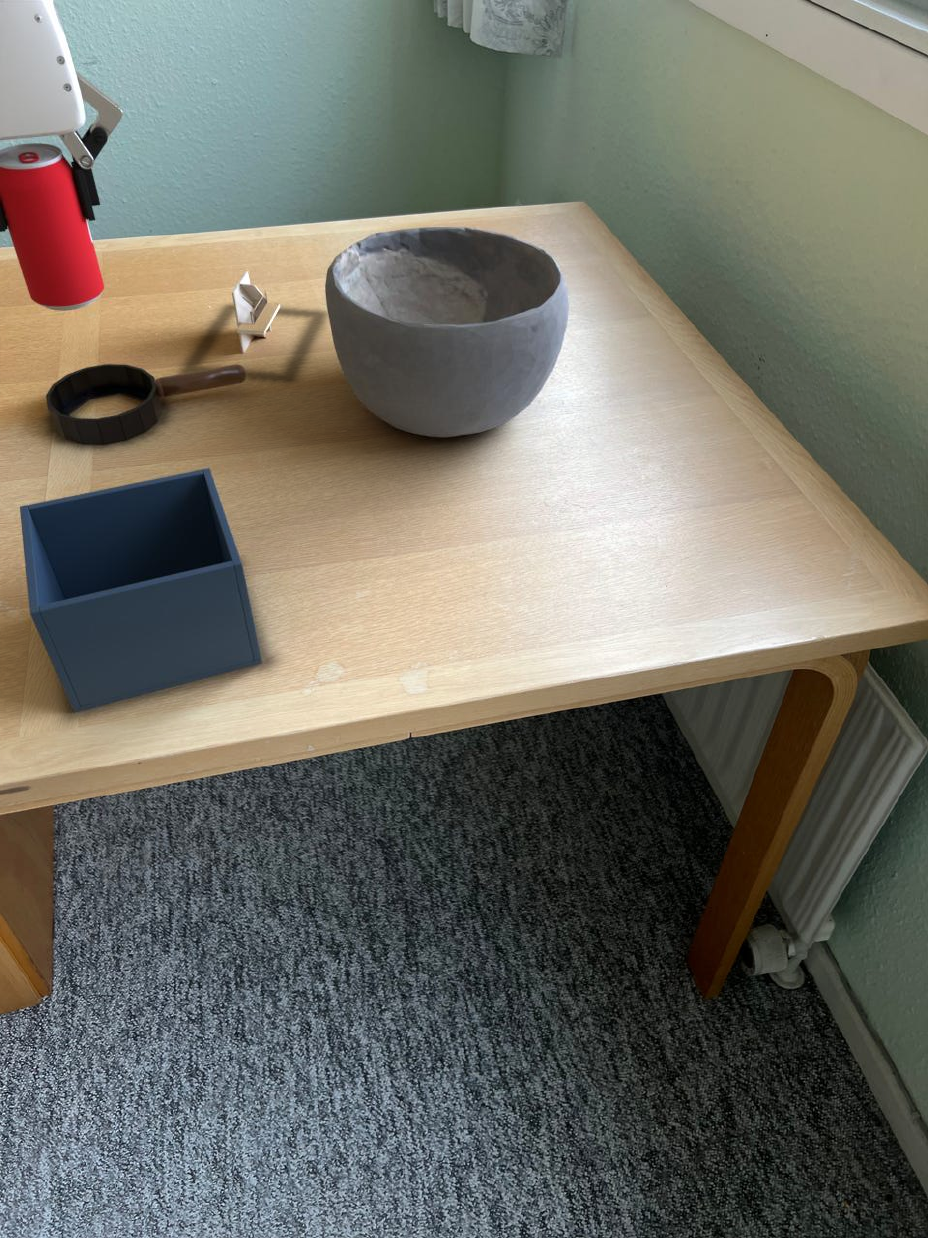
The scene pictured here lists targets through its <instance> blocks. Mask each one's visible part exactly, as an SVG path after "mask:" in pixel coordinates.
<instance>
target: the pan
mask: <svg viewBox="0 0 928 1238" xmlns="http://www.w3.org/2000/svg"><path fill="white" fill-rule="evenodd" d="M247 378H248V371H247V369H246V368H245V367H244V366H243V365H242V364H231V365H225V366H219V367H213V368H208V369H202V370H196V371H191V372H185V373H179V374H174V375H167V376H162V377H157V378H156V379H155V377H154V376H153V375H152V374H151V373H150V372H148V371H146V370H145V369H143V368H141V367H138V366H134V365H131V364H130V365H129V364H120V363H118V364H117V363H106V364H105V363H104V364H99V365H98V364H97V365H93V366H87V367H84V368H81V369H78V370H76V371H73V372H70V373H67V374H65V375H64V376H63V377H61V378H60V379H59V380H57V381H56V382H54V383H53V384H52V385H51V387H50V388H49V390H48V391H47V393H46V394H45V400H46V407H47V409H48V412H49V416H50V418H51V421H52V424H53V427H54V430H55V432H56V433H57V434H59V435H60V436H61V437H62V438H63V439H64V440H66V441H69V442H72V443H76V444H79V445H83V446H107V445H112V444H118V443H123V442H126V441H130V440H132V439H134V438H136V437H139V436H141V435H143V434H145V433H147V432H148V431H149V430H150V429H151V428H153V427H154V426H155V425H157V424H158V422H159V421H160V418H161V416H162V414H163V411H164V410H163V406H162V401H161V398H167V397H172V396H178V395H179V396H180V395H184V394H190V393H195V392H201V391H206V390H212V389H217V388H222V387H228V386H229V387H230V386H233V385H234V386H235V385H239V384H243V383H244V382H245V381H246V380H247ZM118 395H119V396H120V395H121V396H124V397H127V398H132V399H135V400H139V401H142V402H141V403H140V404H138V405H137V406H135V407H133V408H131V409H128V410H125V411H123V412H121V413H119V414H114V415H109V416H104V417H98V418H93V417H92V418H91V417H88V418H87V417H74V416H71V414H72V413H74V412H75V411H77V410H78V409H79V408H80V407H82V406H83V405H85V404H86V403H87V402H88V401H90V400H96V399H100V398H106V397H112V396H118Z"/></svg>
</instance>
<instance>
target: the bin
mask: <svg viewBox="0 0 928 1238" xmlns="http://www.w3.org/2000/svg"><path fill="white" fill-rule="evenodd" d="M19 512H20V524H21V534H22V543H23V556H24V564H25V565H24V566H25V576H26V586H27V598H28V608H29V615H30V617H31V620H32V621H33V624H34V626H35V628H36V630H37V633H38V635H39V636H40V639H41V642H42V643H43V646H44V649H45V651H46V653H47V655H48V657H49V660H50V662H51V664H52V667H53V668H54V671H55V674H56V675H57V678H58V680H59V682H60V685H61V687H62V688H63V690H64V693H65V695H66V698H67V700H68V702H69V705H70V707H71V708H72V711H73V713H74V714H77V713H80V712H85V711H87V710H92V709H96V708H99V707H103V706H106V705H111V704H114V703H118V702H123V701H126V700H130V699H133V698H137V697H140V696H144V695H148V694H151V693H156V692H159V691H163V690H166V689H171V688H175V687H178V686H181V685H186V684H189V683H192V682H193V683H194V682H196V681H197V682H198V681H200V680H204V679H208V678H212V677H215V676H219V675H220V676H221V675H223V674H226V673H227V674H228V673H230V672H234V671H238V670H241V669H245V668H249V667H253V666H257V665H260V664H263V658H262V654H261V649H260V645H259V640H258V635H257V630H256V629H257V628H256V625H255V619H254V615H253V614H254V613H253V610H252V605H251V600H250V595H249V591H248V585H247V581H246V575H245V572H244V571H245V570H244V567H243V563H242V559H241V557H240V554H239V550H238V546H237V545H236V541H235V539H234V536H233V533H232V530H231V526H230V524H229V520H228V517H227V515H226V511H225V509H224V507H223V504H222V500H221V497H220V495H219V491H218V489H217V486H216V482H215V480H214V477H213V474H212V471H211V468H210V467H206V468H202V469H196V470H192V471H187V472H181V473H177V474H173V475H167V476H163V477H158V478H153V479H148V480H143V481H139V482H138V481H137V482H134V483H127V484H124V485H119V486H114V487H109V488H105V489H99V490H94V491H90V492H85V493H79V494H74V495H70V496H66V497H60V498H55V499H50V500H46V501H45V500H44V501H40V502H36V503H31V504H26V505H21V506H19Z"/></svg>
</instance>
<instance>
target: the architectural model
mask: <svg viewBox="0 0 928 1238" xmlns="http://www.w3.org/2000/svg"><path fill="white" fill-rule="evenodd" d="M231 296H232V302H233V308H234V314H235V319H236V327H237V328H236V333H237V334H238V338H239V344H240V345H239V346H240V350H241V354H245V352H246V350H247V348H248V347H249V345H250V344H251V343H252V340H253V339H254V338H255V337H260V338H264V339H267V332H269V333H270V332H272V327H271V324H272V322H273V320H274V318H275V317H276V315H277V313H278V311H279V310H280V308H281V304H280V303H273V302H269V300H268V292H267V290H264V293H262V292H261V290H260V289H259V288H258V287H257V286H256V284H253V283H251V280H250V273H249V270H245V271H244V273H243V274H242V276H241V278H240V279H239V281H238V282H237V284H236V286H235V287H234V288H233V290H232V291H231Z"/></svg>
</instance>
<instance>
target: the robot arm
mask: <svg viewBox="0 0 928 1238" xmlns="http://www.w3.org/2000/svg"><path fill="white" fill-rule="evenodd" d="M58 12H59V11H58V9H57V6H56V4H55V1H54V0H0V141H7V140H8V141H9V140H10V141H11V140H20V139H31V138H39V137H49V136H51V137H52V136H58V137H59V139H60V140H61V141H62V143H63V144H64V146H65V147H66V148H67V150H68V151H69V153H70V155H71V159H72V161H70V165H71V167H72V168H73V171H74V175H75V179H76V183H77V186H78V190H79V194H80V198H81V202H82V205H83V209H84V213H85V217H86V220H87V221H89V222H92V221H96V216H95V212H94V208H93V207H96V206H101V201H100V197H99V193H98V189H97V185H96V180H95V176H94V174H93V169H92V168H93V167H94V164H95V161H96V159H97V158H98V156H99V154H100V153H101V152H102V150H103V149H104V147H105V145H106V144H107V142H108V140H109V139H108V138H110V136H111V134H113V132H114V130H115V129H116V127H117V126H118V124H119V123H120V122H121V120H122V117H123V111H122V108H121V107H120V105H119V104H118V103H117V102H115V101H114V100H113V99H111V98H110V97H109V96H108V95H107V94H105V93H104V92H103V91H102V90H101V89H99V88H98V87H97V86H95V85H94V84H93V83H91V82H90V81H89V80H87V79H86V78H85V77H84V76H82V75H81V74H80V73H79V72H77V71H76V69H75V65H74V61H73V57H72V54H71V50H70V47H69V44H68V40H67V37H66V33H65V31H64V27H63V24H62V21H61V18H60V16H59V13H58ZM84 102H85V103H86V104H88V105H89V106H90V107H92V108H93V109H94V110H96V112H98V113H97V116H96V118H95V120H94V121H93V123H92V124H91V125H90V126H89V127H88V129H87V130H86V132H85V133H84V134H83V136H82V134H80V132H79V130H80V129H81V128H82V127H84V126H85V123H86V112H85V104H84ZM6 230H8V227H7V223H6V220H5V217H4V214H3V211H2V208H1V205H0V233H3V232H6Z"/></svg>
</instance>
